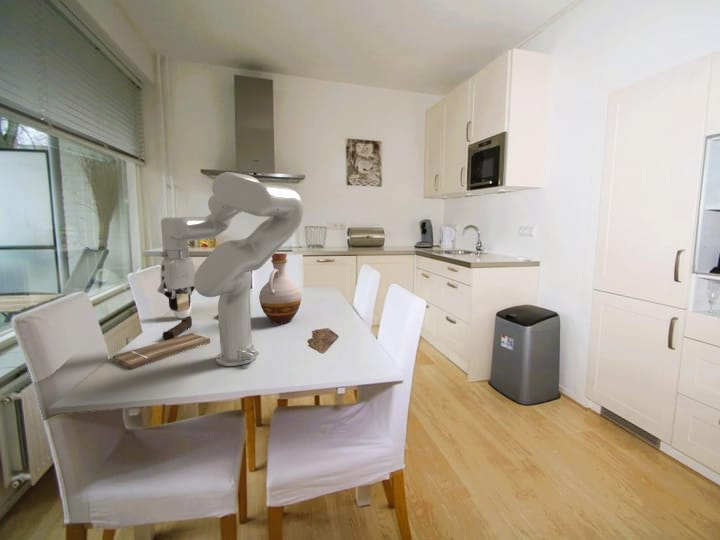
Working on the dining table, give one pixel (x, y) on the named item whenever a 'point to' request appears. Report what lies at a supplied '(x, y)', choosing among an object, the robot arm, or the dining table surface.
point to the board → (159, 350)
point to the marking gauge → (182, 300)
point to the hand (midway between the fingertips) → (180, 307)
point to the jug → (280, 293)
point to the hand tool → (178, 328)
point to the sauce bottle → (183, 313)
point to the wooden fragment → (322, 339)
